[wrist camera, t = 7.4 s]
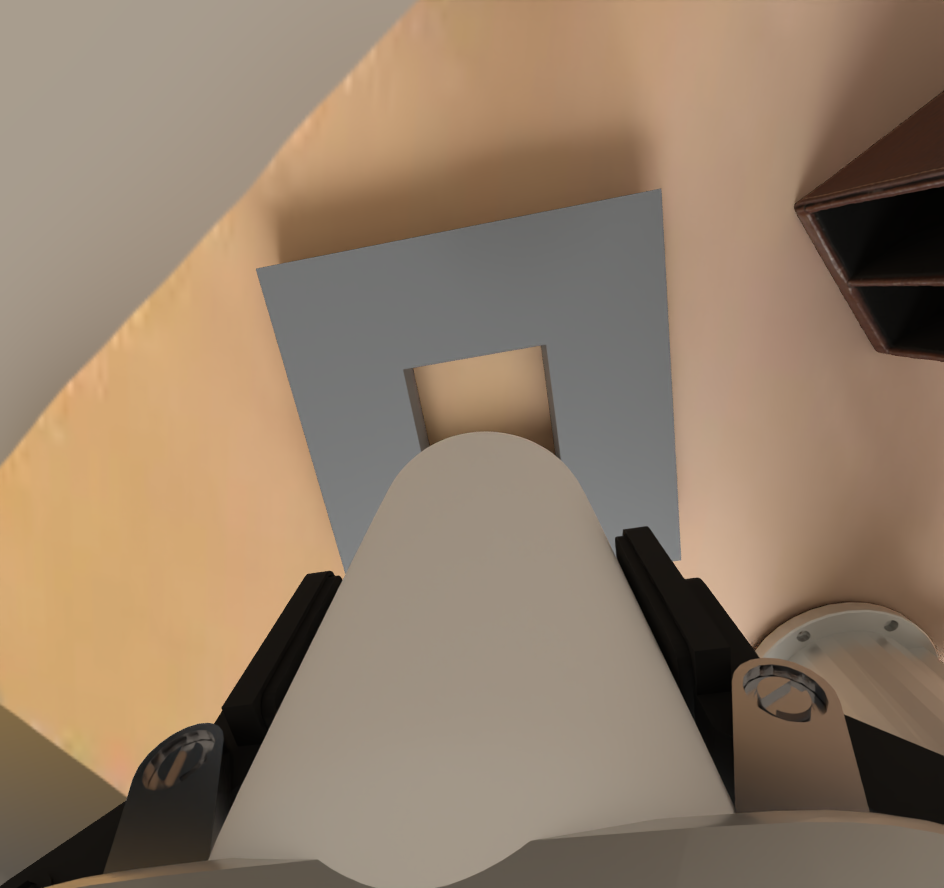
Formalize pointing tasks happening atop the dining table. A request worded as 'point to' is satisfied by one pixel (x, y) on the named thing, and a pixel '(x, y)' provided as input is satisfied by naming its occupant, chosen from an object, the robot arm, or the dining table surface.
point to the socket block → (490, 352)
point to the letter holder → (889, 235)
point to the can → (472, 687)
